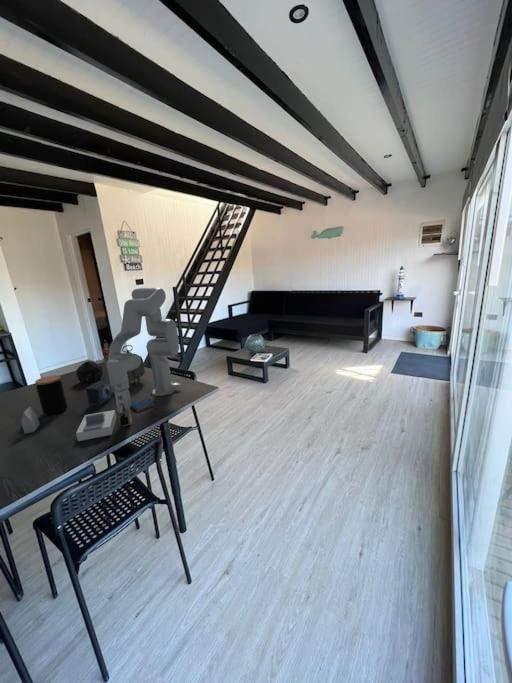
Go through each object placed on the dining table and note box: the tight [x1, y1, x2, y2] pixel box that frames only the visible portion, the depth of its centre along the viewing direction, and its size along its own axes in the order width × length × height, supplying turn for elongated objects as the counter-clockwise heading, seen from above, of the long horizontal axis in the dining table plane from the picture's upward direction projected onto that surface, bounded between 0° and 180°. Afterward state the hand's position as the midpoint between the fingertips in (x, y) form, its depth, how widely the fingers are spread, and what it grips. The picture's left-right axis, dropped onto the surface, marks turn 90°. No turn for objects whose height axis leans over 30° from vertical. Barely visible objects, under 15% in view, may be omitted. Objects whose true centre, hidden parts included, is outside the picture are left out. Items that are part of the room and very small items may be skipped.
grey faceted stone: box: [21, 406, 41, 435], centre depth 134 cm, size 4×7×10 cm, turn 18°
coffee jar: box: [34, 374, 68, 417], centre depth 149 cm, size 11×11×18 cm
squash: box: [75, 360, 104, 384], centre depth 189 cm, size 14×15×15 cm
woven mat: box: [130, 397, 156, 413], centre depth 153 cm, size 10×11×2 cm
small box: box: [85, 380, 113, 408], centre depth 158 cm, size 11×6×10 cm, turn 168°
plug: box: [118, 409, 133, 427], centre depth 135 cm, size 4×4×10 cm
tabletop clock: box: [121, 344, 146, 385], centre depth 180 cm, size 14×9×25 cm, turn 144°
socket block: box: [75, 409, 117, 442], centre depth 132 cm, size 13×16×4 cm
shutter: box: [83, 412, 105, 432], centre depth 127 cm, size 7×7×4 cm
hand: (126, 419), depth 136 cm, fingers open, 9 cm apart
